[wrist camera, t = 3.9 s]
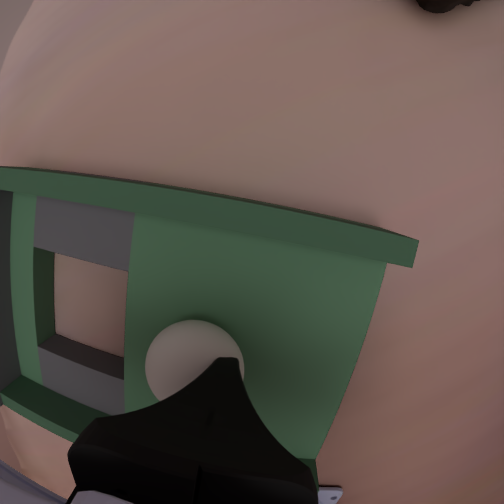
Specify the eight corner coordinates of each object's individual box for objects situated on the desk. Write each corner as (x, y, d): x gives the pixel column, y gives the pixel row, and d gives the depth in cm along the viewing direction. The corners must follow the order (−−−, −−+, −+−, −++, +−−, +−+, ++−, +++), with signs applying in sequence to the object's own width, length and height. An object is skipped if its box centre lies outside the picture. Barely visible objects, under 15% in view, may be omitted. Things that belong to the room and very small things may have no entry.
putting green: (307, 447, 17) (320, 582, 7) (29, 368, 18) (-57, 440, 8) (389, 177, 14) (540, 162, 4) (34, 126, 15) (-98, 104, 5)
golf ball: (251, 413, 13) (190, 449, 10) (186, 376, 15) (122, 396, 12) (272, 333, 13) (208, 354, 9) (199, 303, 15) (130, 309, 11)
